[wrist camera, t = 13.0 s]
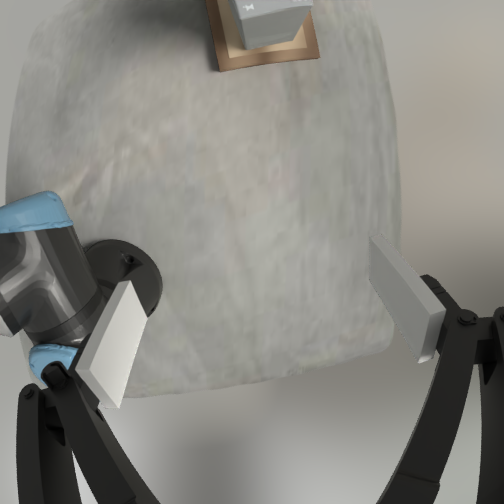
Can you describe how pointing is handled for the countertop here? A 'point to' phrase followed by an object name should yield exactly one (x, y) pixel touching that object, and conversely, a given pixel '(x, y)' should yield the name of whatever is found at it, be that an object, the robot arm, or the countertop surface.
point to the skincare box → (268, 20)
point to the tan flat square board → (237, 57)
